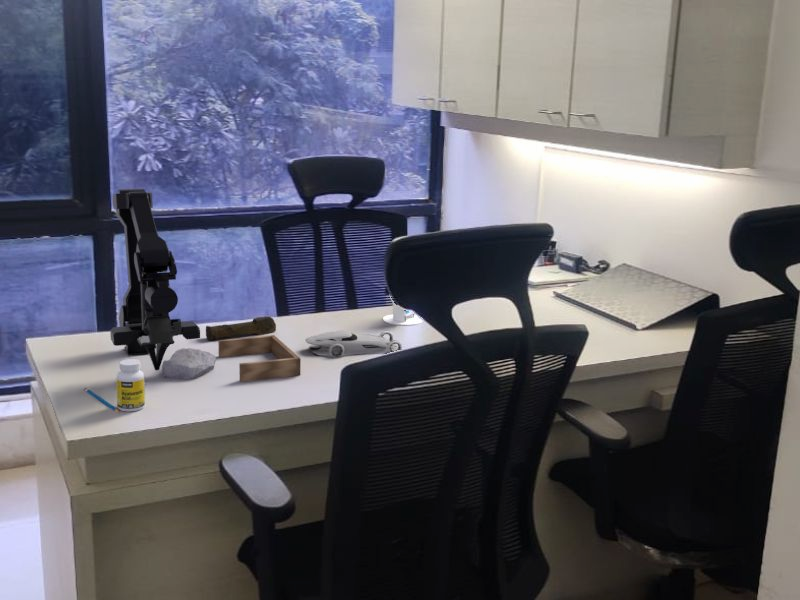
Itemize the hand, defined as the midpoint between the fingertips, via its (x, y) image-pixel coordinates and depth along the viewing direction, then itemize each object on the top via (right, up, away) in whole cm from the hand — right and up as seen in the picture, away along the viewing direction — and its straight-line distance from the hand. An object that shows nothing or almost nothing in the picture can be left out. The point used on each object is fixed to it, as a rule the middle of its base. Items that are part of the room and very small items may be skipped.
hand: (156, 369), depth 202 cm
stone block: (+7, -1, +5) cm, 8 cm away
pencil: (-7, -6, -16) cm, 18 cm away
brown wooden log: (+13, +6, +34) cm, 37 cm away
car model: (+43, +3, +26) cm, 50 cm away
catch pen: (+21, 0, +10) cm, 24 cm away
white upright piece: (+55, +10, +54) cm, 78 cm away
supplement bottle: (0, -6, -19) cm, 20 cm away
